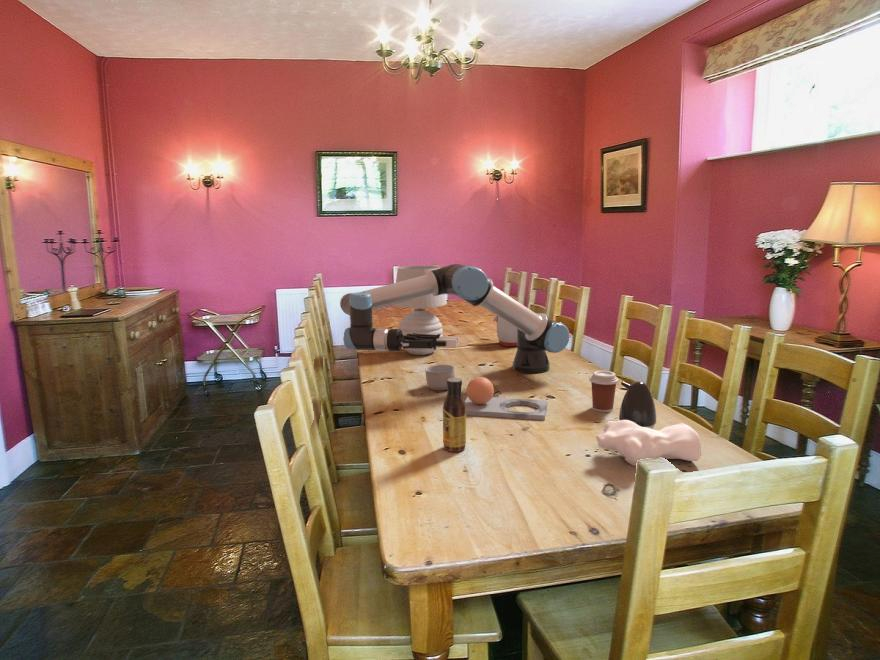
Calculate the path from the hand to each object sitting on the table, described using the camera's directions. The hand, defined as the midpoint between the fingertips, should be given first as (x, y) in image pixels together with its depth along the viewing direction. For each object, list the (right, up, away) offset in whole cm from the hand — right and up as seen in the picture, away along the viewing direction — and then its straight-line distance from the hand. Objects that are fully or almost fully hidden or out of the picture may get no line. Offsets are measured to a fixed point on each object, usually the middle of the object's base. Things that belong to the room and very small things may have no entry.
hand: (457, 342), depth 186 cm
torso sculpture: (+47, -30, -39) cm, 68 cm away
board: (+15, -22, +1) cm, 27 cm away
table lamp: (-15, -7, +82) cm, 84 cm away
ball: (+8, -16, +1) cm, 18 cm away
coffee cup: (+47, -22, 0) cm, 52 cm away
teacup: (-5, -18, +27) cm, 32 cm away
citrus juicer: (+29, -3, +96) cm, 100 cm away
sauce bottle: (-2, -29, -31) cm, 42 cm away
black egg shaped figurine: (+52, -26, -20) cm, 61 cm away
